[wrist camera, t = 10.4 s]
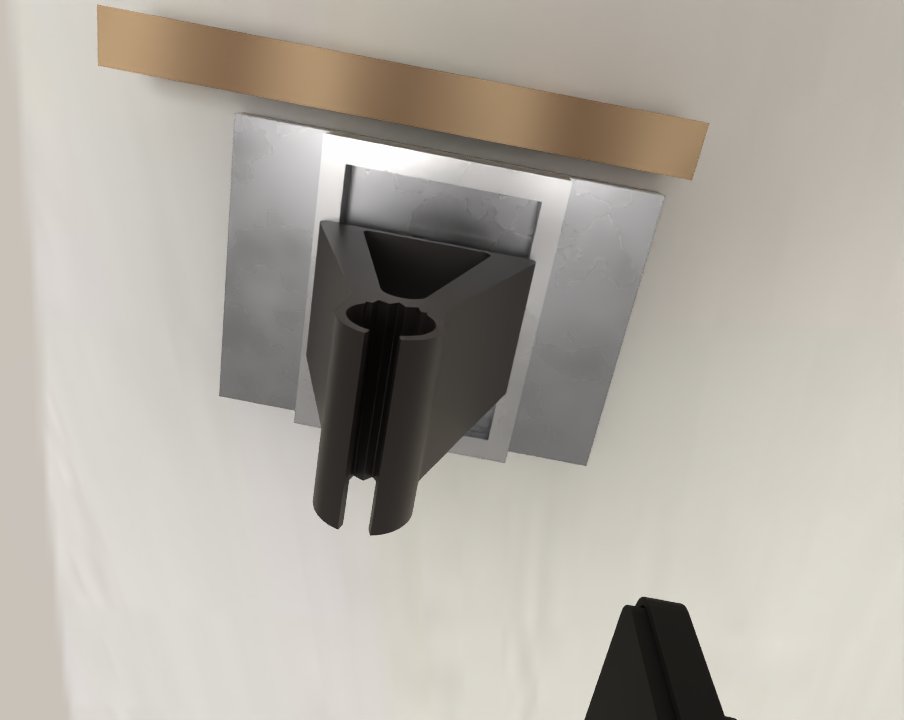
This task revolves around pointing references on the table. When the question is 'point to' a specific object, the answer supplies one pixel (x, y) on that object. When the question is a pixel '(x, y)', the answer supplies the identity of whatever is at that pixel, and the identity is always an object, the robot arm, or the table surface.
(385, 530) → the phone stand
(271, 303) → the keeper plate
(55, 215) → the table surface
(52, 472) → the table surface
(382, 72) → the door edge rail
